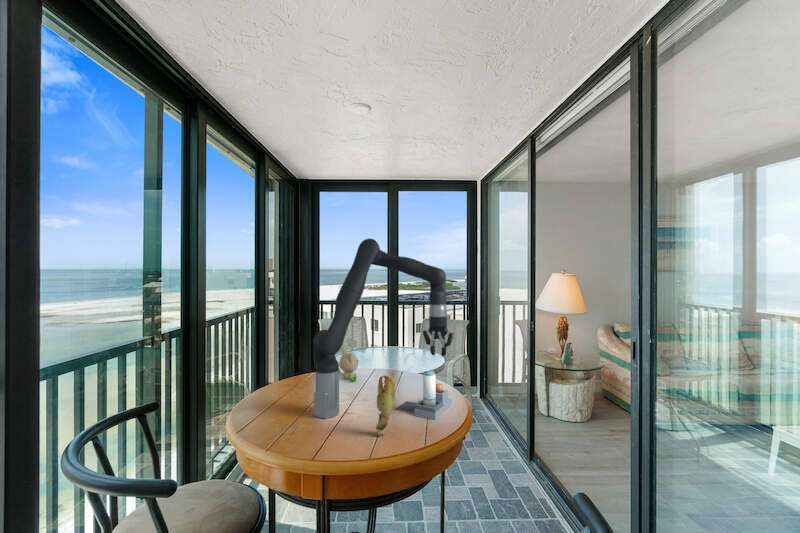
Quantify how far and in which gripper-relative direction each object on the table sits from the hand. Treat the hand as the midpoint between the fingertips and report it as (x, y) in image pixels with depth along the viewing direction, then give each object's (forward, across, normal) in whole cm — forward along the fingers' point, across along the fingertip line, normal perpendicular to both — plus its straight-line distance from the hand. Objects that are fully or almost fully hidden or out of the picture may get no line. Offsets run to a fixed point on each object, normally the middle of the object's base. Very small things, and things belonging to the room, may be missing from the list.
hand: (438, 355), depth 150 cm
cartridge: (+19, 0, -10) cm, 21 cm away
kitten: (+22, -58, +14) cm, 63 cm away
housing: (+21, 0, -6) cm, 22 cm away
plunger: (+15, 0, 0) cm, 15 cm away
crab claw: (+21, -6, -34) cm, 41 cm away
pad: (+21, -10, -7) cm, 24 cm away
